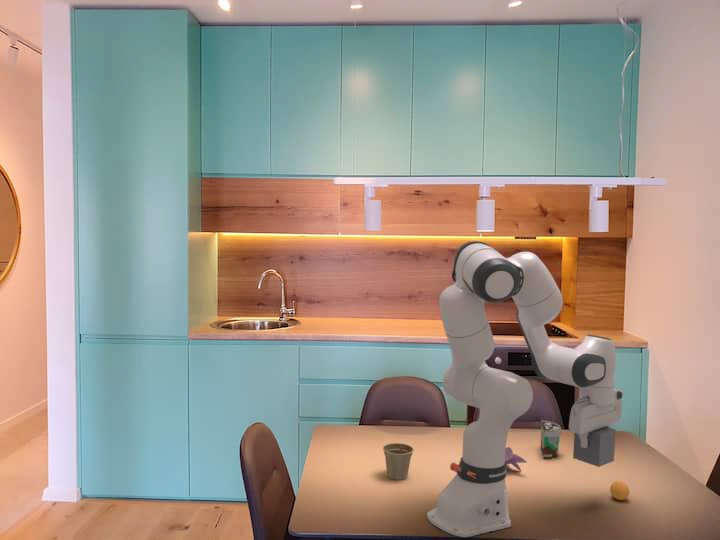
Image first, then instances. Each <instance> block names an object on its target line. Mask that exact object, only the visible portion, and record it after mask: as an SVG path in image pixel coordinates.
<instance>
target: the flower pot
mask: <svg viewBox="0 0 720 540" xmlns="http://www.w3.org/2000/svg"><path fill="white" fill-rule="evenodd" d="M382 450H383V454H384V457H385V459H384V460H385V466H386V475H387V477H388V479H391V480H392V479H393V480H396V481H401V480H406V478H407V477H408V475H409V469H410V464H411V459H412V458H411V457H412V456H413V452H414V451H415V449H414V447H413V446H412V445H409V444H406V443H401V442H394V443H393V442H391V443H387V444H384V445H383V446H382Z"/></svg>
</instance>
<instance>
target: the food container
mask: <svg viewBox="0 0 720 540" xmlns="http://www.w3.org/2000/svg"><path fill="white" fill-rule="evenodd" d="M540 427H541V428H540V429H541V430H540V451H541V452H542V453H541V452H540V453H541V456H542V459H543V460H553V459H552V458H555V457H556V458H557V457H558V453H559V452H558V451H559V444H560V436H562V435H563V432H562V427H561V425H560V424H558V423H556V422H553V421H549V420H543V419H542V420H541V423H540ZM556 458H555V459H556Z"/></svg>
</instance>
